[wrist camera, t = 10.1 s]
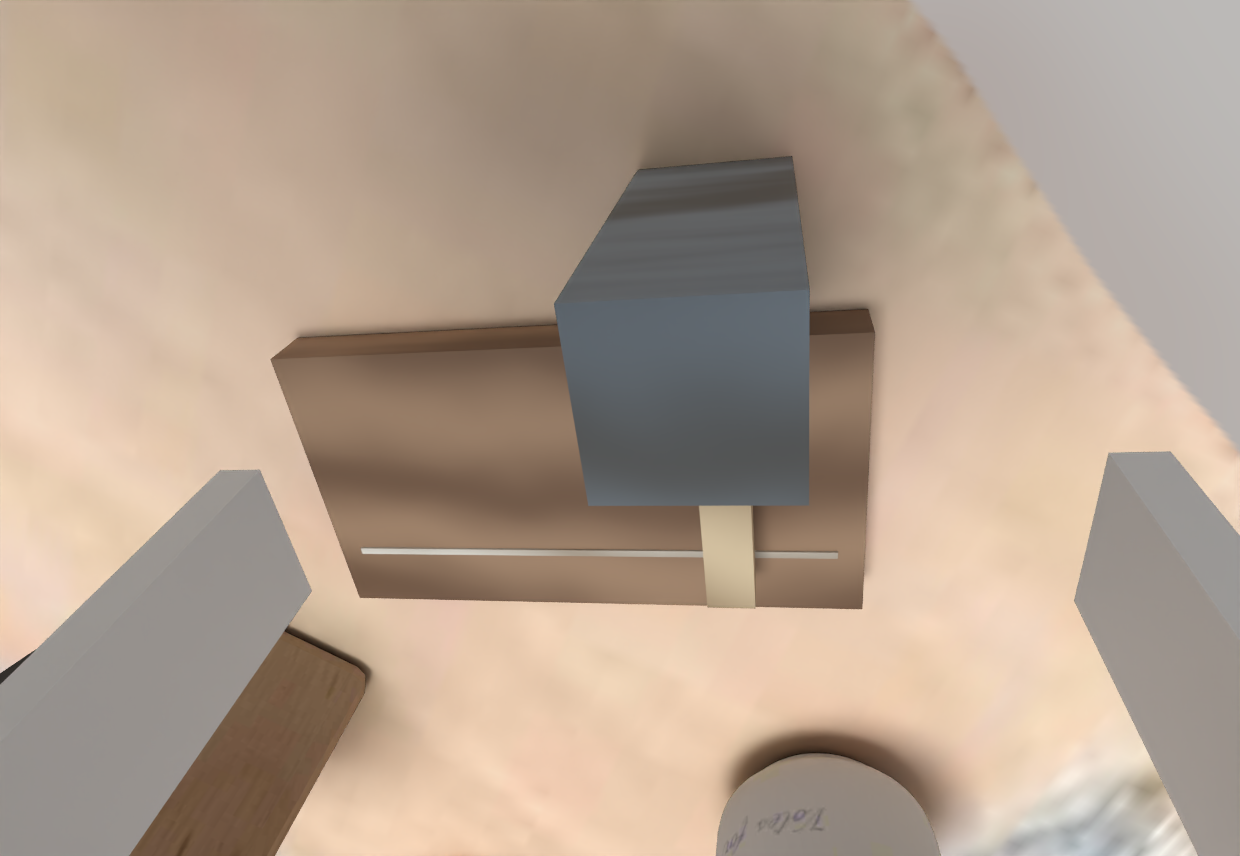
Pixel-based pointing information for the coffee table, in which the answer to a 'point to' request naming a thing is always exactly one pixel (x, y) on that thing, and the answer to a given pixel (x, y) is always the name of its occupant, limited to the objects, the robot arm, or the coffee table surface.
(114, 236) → the coffee table surface
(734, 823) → the teacup
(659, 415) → the grey block
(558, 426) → the board
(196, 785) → the wooden block
